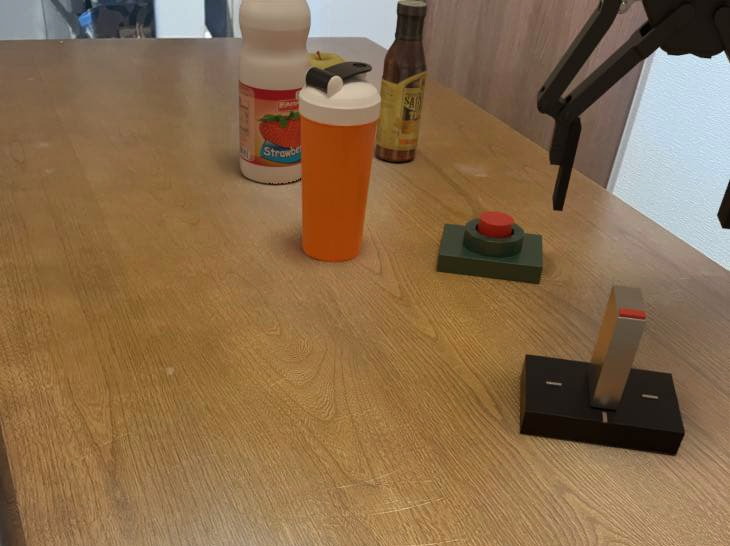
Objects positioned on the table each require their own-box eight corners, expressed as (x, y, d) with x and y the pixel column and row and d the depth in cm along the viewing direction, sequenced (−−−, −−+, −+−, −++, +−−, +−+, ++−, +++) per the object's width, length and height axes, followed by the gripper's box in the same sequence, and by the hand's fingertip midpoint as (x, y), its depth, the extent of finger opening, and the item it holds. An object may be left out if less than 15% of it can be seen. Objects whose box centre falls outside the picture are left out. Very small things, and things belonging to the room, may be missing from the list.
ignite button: (511, 227, 104) (514, 213, 103) (510, 241, 101) (513, 227, 100) (478, 223, 104) (480, 209, 103) (476, 237, 101) (479, 223, 100)
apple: (292, 93, 149) (294, 41, 144) (349, 97, 149) (352, 45, 144) (288, 112, 142) (289, 57, 136) (348, 116, 142) (351, 62, 136)
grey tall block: (586, 372, 83) (613, 281, 77) (612, 375, 83) (641, 285, 76) (590, 407, 79) (618, 314, 72) (616, 410, 78) (648, 318, 72)
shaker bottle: (383, 250, 106) (401, 70, 92) (334, 273, 101) (346, 85, 87) (328, 227, 110) (337, 51, 96) (279, 248, 105) (281, 65, 91)
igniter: (538, 251, 108) (545, 220, 105) (538, 284, 101) (546, 252, 99) (442, 240, 109) (446, 208, 106) (436, 272, 102) (441, 239, 100)
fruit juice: (273, 155, 127) (276, -77, 108) (320, 174, 123) (331, -64, 104) (225, 170, 122) (219, -71, 103) (272, 191, 118) (275, -57, 98)
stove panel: (663, 394, 85) (672, 371, 84) (676, 456, 78) (686, 432, 76) (520, 375, 87) (526, 351, 85) (519, 434, 79) (525, 410, 77)
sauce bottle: (403, 167, 126) (420, 11, 113) (366, 157, 129) (379, 2, 115) (423, 154, 131) (442, 2, 117) (387, 145, 133) (402, -5, 119)
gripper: (544, -110, 56) (488, 214, 70) (951, -79, 54) (806, 249, 68) (542, -124, 61) (490, 180, 76) (911, -96, 59) (785, 211, 74)
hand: (639, 213), depth 72 cm, fingers open, 13 cm apart
